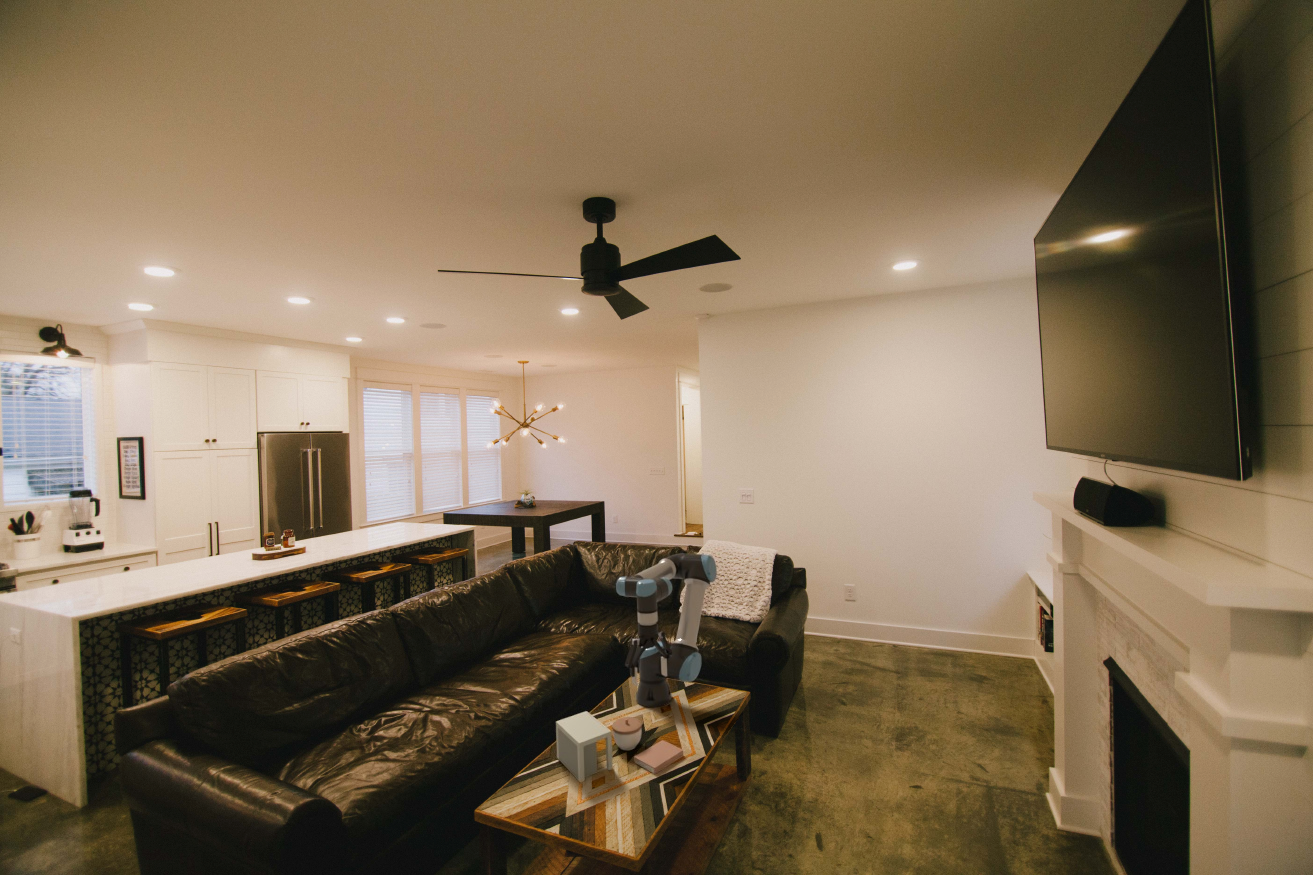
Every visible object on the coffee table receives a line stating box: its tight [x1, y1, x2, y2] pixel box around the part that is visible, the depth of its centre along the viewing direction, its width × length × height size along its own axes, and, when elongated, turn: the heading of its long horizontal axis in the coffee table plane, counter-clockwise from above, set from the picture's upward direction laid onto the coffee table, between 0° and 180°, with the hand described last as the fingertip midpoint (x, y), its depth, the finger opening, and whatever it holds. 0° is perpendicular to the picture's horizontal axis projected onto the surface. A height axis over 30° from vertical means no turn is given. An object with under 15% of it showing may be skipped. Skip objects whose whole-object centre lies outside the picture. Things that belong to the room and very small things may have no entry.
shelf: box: [555, 710, 614, 783], centre depth 185 cm, size 12×18×12 cm, turn 35°
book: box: [633, 739, 684, 775], centre depth 185 cm, size 14×10×2 cm
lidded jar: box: [611, 716, 643, 751], centre depth 195 cm, size 11×11×9 cm
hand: (649, 679), depth 201 cm, fingers open, 12 cm apart
